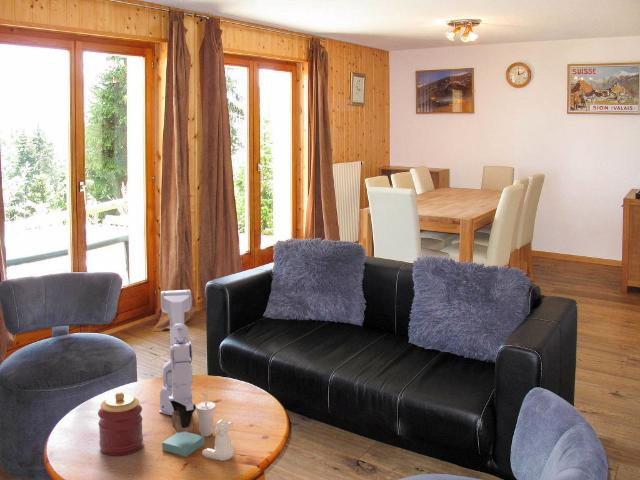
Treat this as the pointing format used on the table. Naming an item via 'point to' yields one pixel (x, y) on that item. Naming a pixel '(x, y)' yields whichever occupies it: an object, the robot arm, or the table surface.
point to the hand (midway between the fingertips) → (182, 423)
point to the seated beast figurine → (221, 443)
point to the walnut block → (177, 422)
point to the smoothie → (205, 416)
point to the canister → (120, 425)
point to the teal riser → (183, 443)
